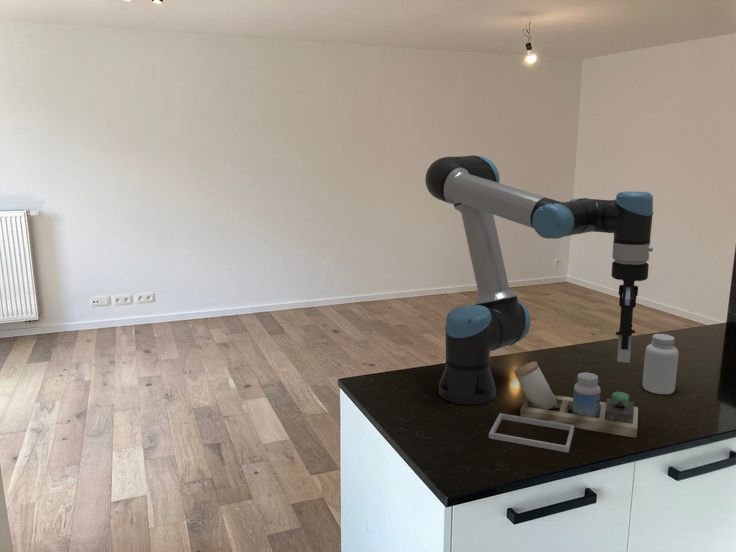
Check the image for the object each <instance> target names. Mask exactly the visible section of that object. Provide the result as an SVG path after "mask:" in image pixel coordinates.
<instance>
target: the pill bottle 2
mask: <svg viewBox="0 0 736 552" xmlns="http://www.w3.org/2000/svg"><path fill="white" fill-rule="evenodd" d="M651 337H652V338H651V343H650V344H648V345H647V346H646V347H645V354H644V364H643V375H642V387H643V389H644V390H646V391H647V392H649V393H652V394H657V395H671V394H673V393H674V392H675V390H676V383H677V382H676V381H677V371H678V362H679V350H678V348H677V347H676V346H675V339H676V338H675V337H674V336H673V335H670V334H666V333H654V334H653V335H652V336H651Z"/></svg>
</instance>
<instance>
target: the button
mask: <svg viewBox="0 0 736 552" xmlns="http://www.w3.org/2000/svg"><path fill="white" fill-rule="evenodd" d="M611 399H614V400H615V401H617V406H618V407H623V402H627V401H630V400H629V399H630V394H628V393H626V392H623V391H614V392H612V395H611Z"/></svg>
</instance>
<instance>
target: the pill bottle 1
mask: <svg viewBox="0 0 736 552" xmlns="http://www.w3.org/2000/svg"><path fill="white" fill-rule="evenodd" d="M598 383H599V376H598V374H595V373H593V372H592V373H591V372H580V373H578V374H577V382H576V383H575V384H574V387H573V396H572V398H573V410H572V414H576V415H582V416H589V417H595V418H599V416H600V402H601V394H602V393H601V392H602V389H601V387H600V386H599V384H598Z"/></svg>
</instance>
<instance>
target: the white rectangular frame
mask: <svg viewBox="0 0 736 552" xmlns="http://www.w3.org/2000/svg"><path fill="white" fill-rule="evenodd" d="M502 420H504V421H510V422H515V423H521V424H528V425H534V426H539V427H546V428H550V429H551V428H552V429H556V430H557V429H558V430H562V431H568V432H569V433H568V436H567V439H566V440H567V441H566V443H565V445H564V444H559V443H553V442H547V441H544V440H543V441H542V440H537V439H530V438H525V437H518V436H516V435H515V436H514V435H509V434H508V435H507V434H503V433H497V429H498V428H499V426H500V424H501V422H502ZM574 433H575V428H574V425H569V424H563V423H557V422H550V421H544V420H538V419H532V418H526V417H520V415H519V416H518V415H513V414H507V413H501V412H500V413H498V416H497V418H496V419H495V422H494V423H493V425H492V427H491V428H490V430H489V432H488V439H492V440H497V441H503V442H506V443H507V442H508V443H513V444H519V445H525V446H529V447H530V446H531V447H536V448H541V449H542V448H543V449H546V450H553V451H557V452H563V453H569V452H570V448H571V444H572V442H573V441H572V440H573V436H574Z"/></svg>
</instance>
